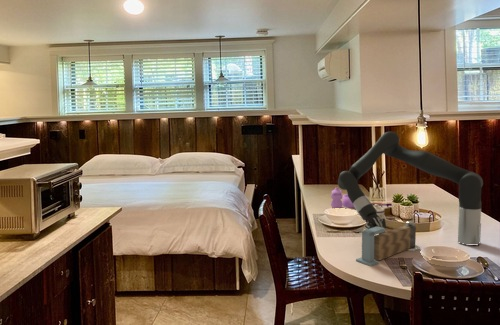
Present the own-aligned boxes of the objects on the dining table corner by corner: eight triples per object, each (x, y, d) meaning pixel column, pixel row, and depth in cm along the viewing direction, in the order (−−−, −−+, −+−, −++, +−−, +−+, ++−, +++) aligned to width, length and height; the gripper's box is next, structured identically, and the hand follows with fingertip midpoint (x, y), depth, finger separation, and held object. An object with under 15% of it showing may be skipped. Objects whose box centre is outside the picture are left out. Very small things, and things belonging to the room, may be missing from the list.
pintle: (417, 244, 209) (418, 219, 207) (421, 250, 200) (422, 224, 199) (397, 244, 210) (398, 219, 209) (401, 250, 202) (401, 224, 200)
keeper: (373, 255, 196) (373, 225, 195) (388, 259, 190) (388, 229, 188) (355, 260, 190) (356, 230, 188) (370, 266, 183) (371, 234, 182)
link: (407, 244, 209) (408, 223, 207) (417, 246, 205) (418, 225, 204) (370, 258, 191) (371, 235, 190) (380, 261, 187) (381, 238, 186)
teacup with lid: (363, 224, 245) (364, 204, 244) (376, 222, 249) (376, 202, 247) (378, 229, 234) (379, 208, 233) (391, 227, 238) (392, 206, 237)
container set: (357, 202, 300) (358, 183, 298) (371, 206, 286) (371, 186, 284) (325, 206, 291) (325, 186, 290) (338, 211, 277) (338, 190, 276)
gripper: (369, 210, 215) (390, 240, 207) (350, 214, 207) (372, 246, 199) (378, 201, 210) (400, 231, 202) (360, 205, 202) (382, 237, 194)
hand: (386, 238), depth 201 cm, fingers closed
